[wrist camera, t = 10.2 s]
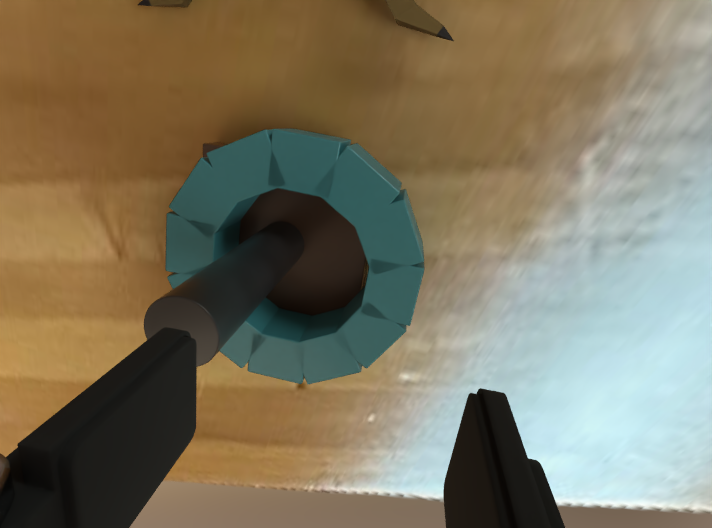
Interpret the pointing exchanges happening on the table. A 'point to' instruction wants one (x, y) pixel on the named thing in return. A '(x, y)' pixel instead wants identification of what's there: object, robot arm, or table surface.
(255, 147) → the ring
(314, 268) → the stand
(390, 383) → the table surface
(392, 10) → the octopus toy
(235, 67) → the table surface
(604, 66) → the table surface
